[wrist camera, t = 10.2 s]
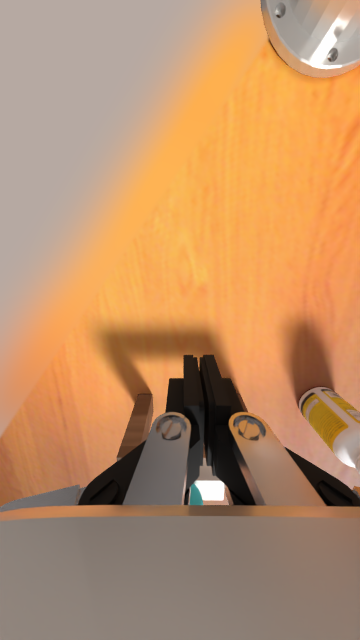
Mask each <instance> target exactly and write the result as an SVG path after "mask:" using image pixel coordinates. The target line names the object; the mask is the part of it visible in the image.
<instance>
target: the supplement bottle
mask: <svg viewBox="0 0 360 640" xmlns="http://www.w3.org/2000/svg"><path fill="white" fill-rule="evenodd" d="M299 409H300V412H301V413H302V415H303V416H304V417H305V419H306V420H307V421H308V422H309V423H310V425H311V426H312V427H313V428H314V430H315V431H316V432H317V433H318V434H319V436H320V437H321V438H322V439H323V441H324V442H325V443H326V444H327V445H328V447H329V448H330V449H331V450H332V452H333V453H334V454H335V455H336V456H337V457H338V459H339V460H341V461H342V462H343V463H344V464H346V465H348V466H351V467H355V468H356V470H357V471H358V473H359V474H360V412H359V411H357V410H356V409H355V408H354V407H353V406H351V405H350V404H349V403H348V402H346V401H345V400H344V399H343V398H342V397H340V396H339V395H338V394H337V393H335V392H334V391H333V390H331V389H329V388H326V387H316V388H313V389H311V390H309V391H307V392H306V393H305V394H304V395H303V396H302V397H301V399H300V401H299Z"/></svg>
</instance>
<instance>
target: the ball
mask: <svg viewBox="0 0 360 640" xmlns="http://www.w3.org/2000/svg"><path fill="white" fill-rule="evenodd" d="M189 505H203V500H202V496H201V493H200V491H199V489H198V488H197V486H196V485H195V484H192V486H191V493H190V503H189Z"/></svg>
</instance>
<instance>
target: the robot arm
mask: <svg viewBox="0 0 360 640" xmlns="http://www.w3.org/2000/svg"><path fill="white" fill-rule="evenodd" d="M261 10H262V14H263V19H264V25H265V28H266V31H267V33H268V36H269V39H270V41H271V43H272V45H273V47H274V48H275V50H276V51H277V53H278V55H279V56H280V57H281V58H282V59H283V60H284V61H285V62H286V63H287V64H288V65H289V66H290V67H291V68H293V69H295V70H296V71H298V72H299V73H301V74H304V75H308V76H311V77H322V78H327V77H332V76H337V75H341V74H343V73H346V72H348V71H350V70H352V69H354V68H356V67H357V66H359V65H360V0H261ZM203 448H204V449H205V457H206V465H207V466H211V468H212V475H213V476H216V477H217V478H219V479H220V480H221V481H222V482H223V483H224V489H225V493H226V497H227V500H228V503H229V505H189V503H190V493H191V486H192V484H193V483H194V482H195V481H196V480H197V479H198V477H199V475H200V466H203ZM0 640H360V487H356V486H354V488H353V490H351V489H350V488H349V487H348V486H347V485H345V484H344V483H342V482H341V481H340V480H338V479H337V478H335V477H333V476H332V475H330V474H328V473H327V472H325V471H324V470H322V469H320V468H319V467H317V466H315V465H314V464H312V463H310V462H309V461H307V460H305V459H304V458H302V457H301V456H299V455H297V454H296V453H294V452H292V451H291V450H289V449H287V448H286V447H284V446H283V445H282V444H281V442H280V441H279V440H278V438H277V437H276V435H275V434H274V433H273V431H272V430H271V429H270V427H269V426H268V424H267V423H266V422H265V421H264V420H263V419H261V418H260V417H259V416H257V415H254V414H252V413H248V412H245V411H244V409H243V407H242V404H241V402H240V400H239V397H238V395H237V393H236V390H235V388H234V386H233V383H232V381H231V379H230V378H222V377H221V375H220V372H219V369H218V366H217V363H216V360H215V358H214V355H203V357H200V366H199V367H198V361H197V357H193V355H184V378H170V379H169V386H168V395H167V404H166V412H165V413H164V414H162V415H160V416H159V417H157V418H156V419H155V421H154V422H153V424H152V427H151V430H150V432H149V435H148V438H147V439H146V440H145V441H144V442H142V443H141V444H140V445H138V446H137V447H136V448H134V449H133V450H132V451H131V452H129V453H128V454H127V455H125V456H124V457H123V458H121V459H120V460H119V461H117V462H116V463H115V464H113V465H112V466H111V467H109V468H108V469H107V470H105V471H104V472H103V473H101V474H100V475H99V476H97V477H96V478H95V479H94V480H93V481H92V482H91V483H90V484H88V486H87V487H84V488H80V485H75V486H71V487H67V488H63V489H59V490H55V491H51V492H47V493H43V494H39V495H34V496H30V497H26V498H22V499H18V500H14V501H12V502H9V503H7V504H4V505H3V506H1V507H0Z"/></svg>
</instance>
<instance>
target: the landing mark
mask: <svg viewBox="0 0 360 640" xmlns="http://www.w3.org/2000/svg"><path fill="white" fill-rule="evenodd" d="M193 484H195V485H196V486H197V488H198V489H199V491H200V493H201V496H202V500H223V499H224V483H223V482H222V481H195V482H194V483H193Z"/></svg>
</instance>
